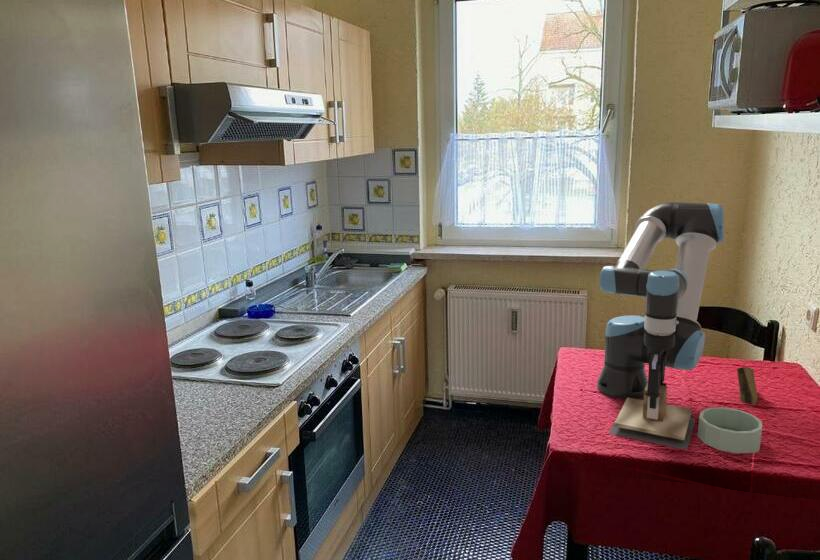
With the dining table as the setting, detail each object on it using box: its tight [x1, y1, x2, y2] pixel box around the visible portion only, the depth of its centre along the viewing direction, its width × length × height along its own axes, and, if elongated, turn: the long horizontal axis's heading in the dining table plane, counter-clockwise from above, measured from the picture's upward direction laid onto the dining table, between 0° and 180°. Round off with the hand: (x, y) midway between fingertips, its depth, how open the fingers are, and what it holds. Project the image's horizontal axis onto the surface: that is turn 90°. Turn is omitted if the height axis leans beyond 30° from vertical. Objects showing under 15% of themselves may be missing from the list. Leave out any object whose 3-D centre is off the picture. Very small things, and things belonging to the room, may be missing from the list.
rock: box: [736, 366, 759, 406], centre depth 181 cm, size 11×9×10 cm
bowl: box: [697, 406, 763, 455], centre depth 156 cm, size 14×14×6 cm
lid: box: [613, 383, 693, 440], centre depth 163 cm, size 17×17×9 cm
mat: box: [608, 417, 696, 451], centre depth 165 cm, size 19×19×1 cm
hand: (654, 413), depth 164 cm, fingers closed on lid, 5 cm apart
